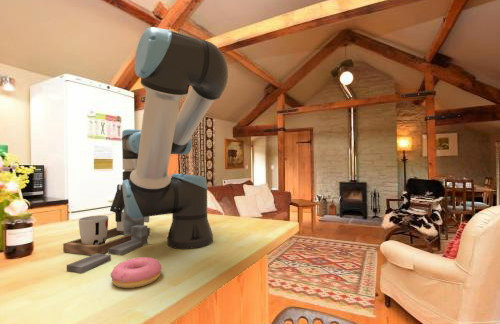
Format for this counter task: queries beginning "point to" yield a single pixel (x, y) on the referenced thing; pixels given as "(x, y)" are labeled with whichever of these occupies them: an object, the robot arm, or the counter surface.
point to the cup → (93, 229)
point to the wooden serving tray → (90, 249)
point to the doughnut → (136, 272)
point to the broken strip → (112, 251)
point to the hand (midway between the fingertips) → (134, 226)
